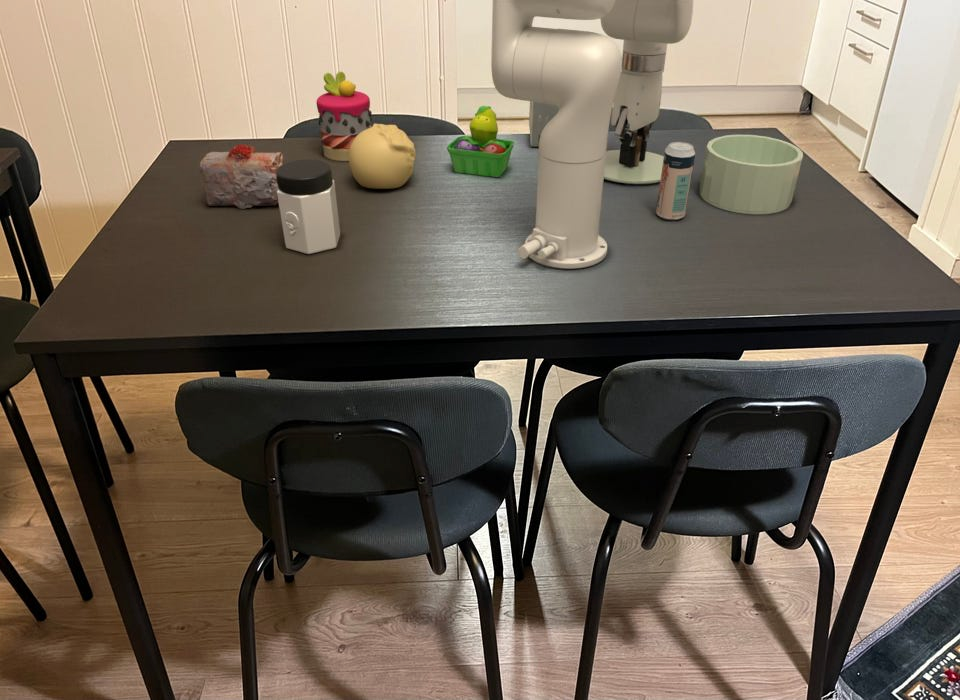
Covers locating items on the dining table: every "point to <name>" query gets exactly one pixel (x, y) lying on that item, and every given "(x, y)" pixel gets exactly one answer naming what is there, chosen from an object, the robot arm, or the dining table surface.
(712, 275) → the dining table surface
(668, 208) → the beer can
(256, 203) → the food item
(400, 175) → the sculpture
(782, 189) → the tub
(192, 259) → the dining table surface
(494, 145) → the fruit basket
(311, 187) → the jar
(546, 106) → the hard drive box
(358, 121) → the cake
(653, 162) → the tub lid
